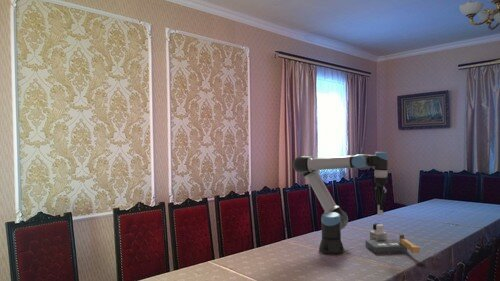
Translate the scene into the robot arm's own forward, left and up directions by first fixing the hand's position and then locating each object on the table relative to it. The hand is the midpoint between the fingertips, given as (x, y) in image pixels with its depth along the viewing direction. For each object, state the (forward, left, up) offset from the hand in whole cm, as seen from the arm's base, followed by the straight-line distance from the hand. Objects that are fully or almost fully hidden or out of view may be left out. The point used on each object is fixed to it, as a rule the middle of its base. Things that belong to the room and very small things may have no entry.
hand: (380, 214), depth 213 cm
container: (+7, +18, -23) cm, 30 cm away
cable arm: (+13, -8, -18) cm, 24 cm away
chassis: (+5, +4, -23) cm, 24 cm away
